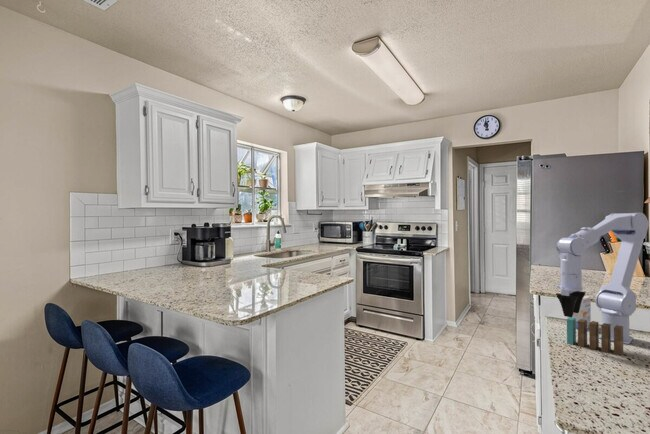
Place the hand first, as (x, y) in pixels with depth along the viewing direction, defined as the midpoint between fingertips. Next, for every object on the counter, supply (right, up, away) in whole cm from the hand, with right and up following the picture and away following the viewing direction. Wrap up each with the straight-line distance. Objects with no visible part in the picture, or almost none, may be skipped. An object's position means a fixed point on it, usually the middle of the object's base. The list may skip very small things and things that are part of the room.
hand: (571, 314), depth 113 cm
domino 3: (+4, -9, -5) cm, 11 cm away
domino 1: (0, -9, 0) cm, 9 cm away
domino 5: (+8, -9, -9) cm, 15 cm away
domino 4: (+6, -9, -7) cm, 13 cm away
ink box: (+16, -10, +18) cm, 26 cm away
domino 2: (+2, -9, -2) cm, 10 cm away
